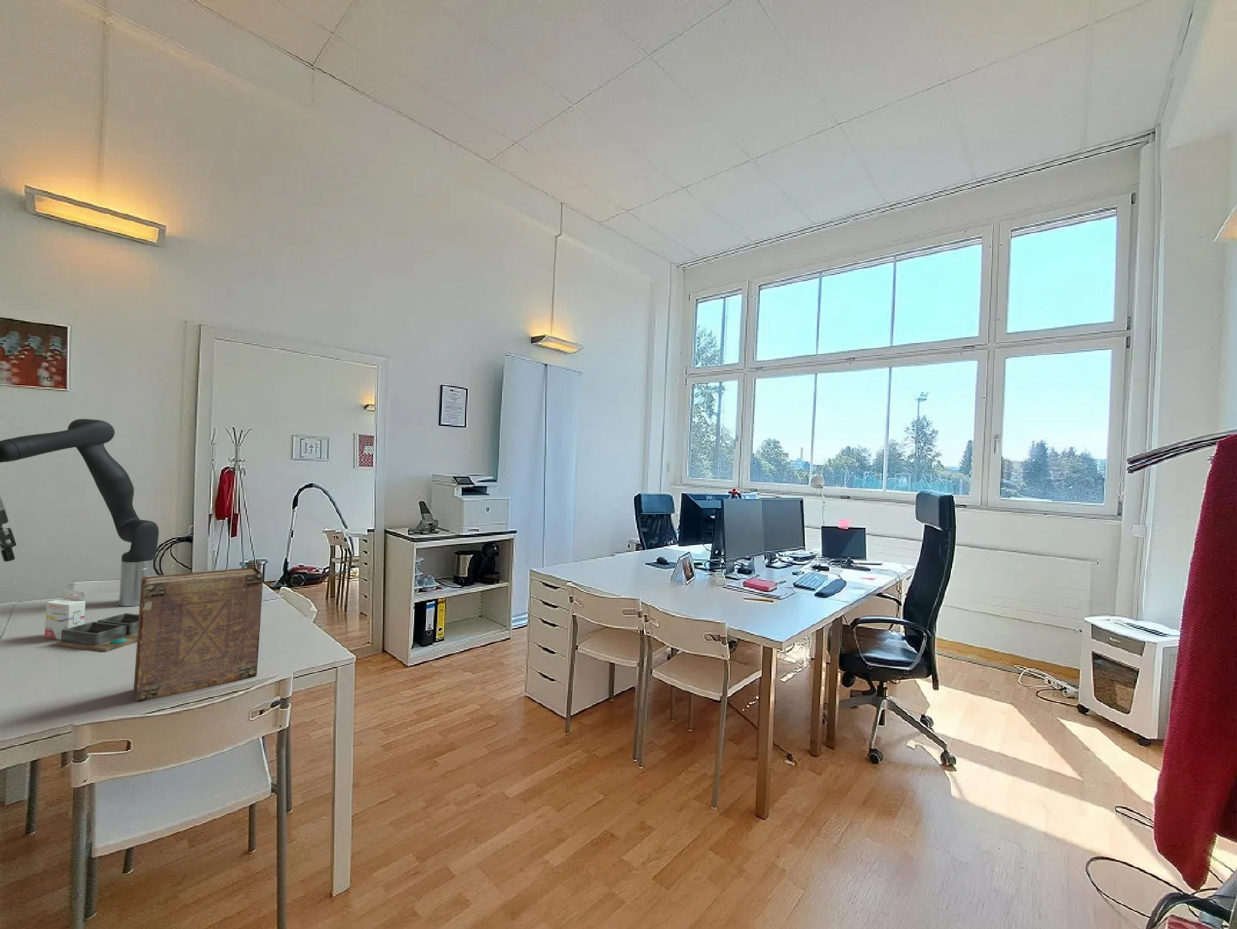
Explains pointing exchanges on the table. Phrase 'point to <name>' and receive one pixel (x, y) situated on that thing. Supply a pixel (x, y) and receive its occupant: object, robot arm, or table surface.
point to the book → (197, 630)
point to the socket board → (102, 633)
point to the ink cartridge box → (64, 613)
